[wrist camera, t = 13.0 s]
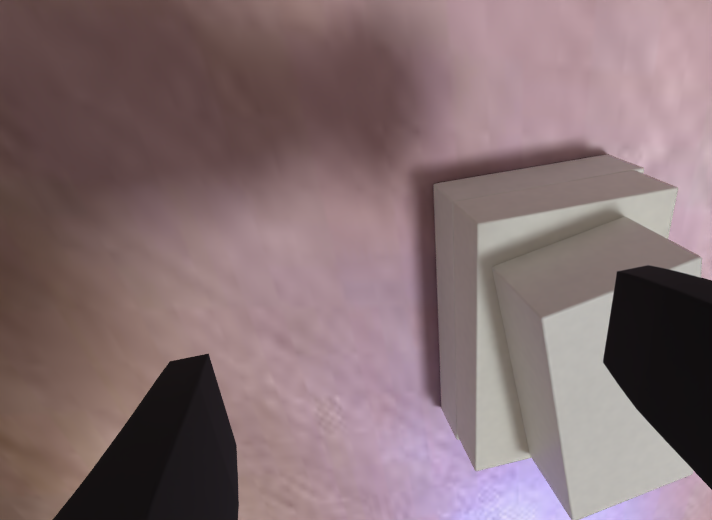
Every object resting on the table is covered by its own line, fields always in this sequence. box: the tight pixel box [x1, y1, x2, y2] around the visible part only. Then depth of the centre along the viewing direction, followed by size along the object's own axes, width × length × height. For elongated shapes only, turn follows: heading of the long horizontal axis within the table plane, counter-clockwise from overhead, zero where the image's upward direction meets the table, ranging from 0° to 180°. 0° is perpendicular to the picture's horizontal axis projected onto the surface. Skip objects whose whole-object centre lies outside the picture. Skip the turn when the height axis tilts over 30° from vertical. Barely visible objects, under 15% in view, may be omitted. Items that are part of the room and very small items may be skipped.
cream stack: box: [433, 154, 678, 471], centre depth 19 cm, size 7×11×4 cm, turn 6°
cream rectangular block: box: [492, 217, 702, 520], centre depth 16 cm, size 4×9×3 cm, turn 18°
